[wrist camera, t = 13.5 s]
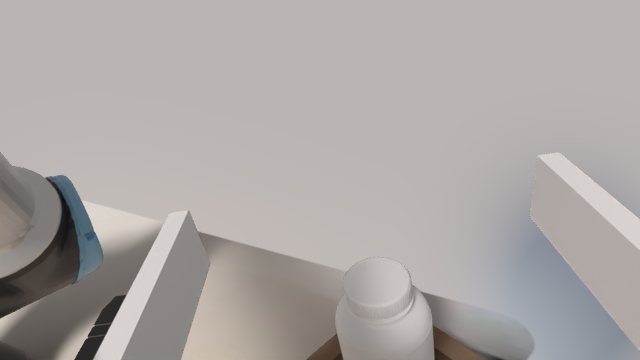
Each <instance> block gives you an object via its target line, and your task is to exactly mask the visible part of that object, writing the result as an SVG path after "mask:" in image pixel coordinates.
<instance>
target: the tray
mask: <svg viewBox="0 0 640 360" xmlns="http://www.w3.org/2000/svg"><path fill="white" fill-rule="evenodd" d="M433 341H434V359H435V360H485V359H483V358H482V357H480V356H479V355H477V354H476V353H474V352H473V351H471V350H470V349H468V348H467V347H465V346H464V345H462V344H461V343H459V342H458V341H456V340H454V339H453V338H451V337H450V336H448V335H447V334H445V333H444V332H442V331H441V330H439V329H438V328H436V327H435V326H433ZM307 360H343V356H342V352H341V348H340V344H339V339H338V335H337V334H336V335H335V336H333V337H332V338H331V339H330V340H329V341H328V342H326V343H325V344H324V345H323V346H322V347H321V348H319V349H318V350H317V351H316V352H315V353H314V354H312V355H311V356H310V357H309V358H308V359H307Z"/></svg>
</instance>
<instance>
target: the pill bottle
mask: <svg viewBox="0 0 640 360" xmlns="http://www.w3.org/2000/svg"><path fill="white" fill-rule="evenodd" d="M343 280H344V281H343V291H344V294H343V296H342V297H341V299H340V301H339V303H338V306H337V309H336V314H335V326H336V331H337V335H338V339H339V344H340V348H341V352H342V356H343V360H435V359H434V341H433V323H432V314H431V309H430V306H429V304H428V302H427V300H426V299H425V297H424V296H423V294H422V293H421V292H420V291H419V290H418V289H417V288H416V287H415V286H413V285H412V283H411V276H410V274H409V272H408V271H407V269H406V268H405V267H404V266H403V265H402V264H400V263H399V262H397V261H395V260H393V259H389V258H384V257H374V258H368V259H365V260H362V261H360V262H358V263H356V264H355V265H353V266H352V267H351V268H350V269H349V270H348V271H347V273H346V275H345V276H344V279H343Z"/></svg>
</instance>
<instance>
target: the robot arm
mask: <svg viewBox="0 0 640 360" xmlns="http://www.w3.org/2000/svg"><path fill="white" fill-rule="evenodd" d="M530 217H531V219H532V220H533V221H534V222H535V224H536V225H537V226H538V227H539V228H540V230H541V231H542V232H543V233H544V234H545V236H546V237H547V238H548V239H549V241H550V242H551V243H552V245H553V246H554V247H555V248H556V249H557V251H558V252H559V253H560V254H561V255H562V257H563V258H564V259H565V261H566V262H567V263H568V264H569V265H570V267H571V268H572V269H573V270H574V272H575V273H576V274H577V275H578V277H579V278H580V279H581V280H582V281H583V283H584V284H585V285H586V286H587V288H588V289H589V290H590V291H591V292H592V294H593V295H594V296H595V297H596V299H597V300H598V301H599V302H600V303H601V305H602V306H603V307H604V308H605V310H606V311H607V312H608V313H609V315H610V316H611V317H612V318H613V320H614V321H615V322H616V323H617V324H618V326H619V327H620V328H621V329H622V331H623V332H624V333H625V334H626V336H627V337H628V338H629V339H630V340H631V342H632V343H633V344H634V345H635V347H636V348H637V349H638V350H639V352H640V219H639V218H637V217H636V216H635V215H634V214H632V213H631V212H630V211H629V210H628V209H627V208H625V207H624V206H623V205H622V204H621V203H619V202H618V201H617V200H616V199H614V198H613V197H612V196H611V195H610V194H608V193H607V192H606V191H605V190H604V189H602V188H601V187H600V186H599V185H597V184H596V183H595V182H594V181H593V180H592V179H590V178H589V177H588V176H587V175H586V174H584V173H583V172H582V171H581V170H580V169H578V168H577V167H576V166H575V165H574V164H572V163H571V162H570V161H569V160H568V159H566V158H565V157H564V156H563V155H561V154H560V153H559V152H558V153H551V154H546V155H539V156H537V162H536V170H535V179H534V186H533V195H532V203H531V210H530ZM102 262H103V252H102V248H101V245H100V243H99V240H98V238H97V235H96V233H95V232H94V231H93V226H92V224H91V221H90V218H89V216H88V214H87V212H86V210H85V207H84V205H83V203H82V201H81V199H80V197H79V195H78V193H77V191H76V189H75V188H74V186H73V184H72V182H71V181H70V180H69V179H68V178H67V177H66V176H63V175H58V176H54V177H52V176H51V177H46V178H44V177H42V176H41V175H40V174H38V173H35V172H33V171H31V170H28V169H25V168H20V167H16V166H12V165H11V164H10V163H9V162H8V161H7V159H6V158H5V157H4V156H3V155H2V154H1V153H0V318H2V317H4V316H6V315H8V314H11V313H13V312H15V311H17V310H19V309H21V308H23V307H25V306H27V305H29V304H31V303H33V302H35V301H37V300H39V299H41V298H43V297H45V296H47V295H49V294H51V293H53V292H55V291H57V290H59V289H61V288H63V287H65V286H67V285H69V284H75V283H77V282H78V281H80V280H81V279H82V277H84V276H86V275H88V274H90V273H92V272H93V271H95V270H97V269H98V268H99V267H100V266H101V264H102ZM209 267H210V260H209V258H208V256H207V253H206V251H205V248H204V246H203V243H202V241H201V239H200V236H199V234H198V231H197V229H196V227H195V224H194V221H193V219H192V217H191V214H190V212H189V210H185V211H178V212H172V213H169V215H168V217H167V219H166V221H165V223H164V225H163V226H162V228H161V230H160V232H159V234H158V236H157V238H156V240H155V242H154V244H153V246H152V248H151V249H150V251H149V253H148V255H147V257H146V259H145V261H144V263H143V265H142V267H141V269H140V271H139V273H138V274H137V276H136V278H135V280H134V282H133V284H132V286H131V288H130V290H129V292H128V294H127V295H123V296H116V297H115V298H114V299H113V300H112V301H111V302H110V303H109V304H108V305H107V306H106V307H105V308H104V309H103V310H102V312H101V313H100V315H99V317H98V319H97V321H96V322H95V324H94V325H95V326H94V327H93V328H92V329H91V331H90V333H89V335H88V339H86V340H85V342H84V344H83V345H82V347H81V349H80V351H79V352H78V354H77V356H76V358H75V359H74V360H181V357H182V354H183V351H184V347H185V344H186V341H187V338H188V334H189V331H190V328H191V325H192V321H193V318H194V315H195V312H196V309H197V305H198V302H199V299H200V296H201V292H202V289H203V286H204V283H205V279H206V276H207V273H208V270H209ZM0 360H30V359H29V358H28V357H27V356H26V355H25V353H23V352H22V351H20V350H19V349H17V348H14V347H12V346H10V345H8V344H5V343H3V342H1V341H0Z"/></svg>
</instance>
